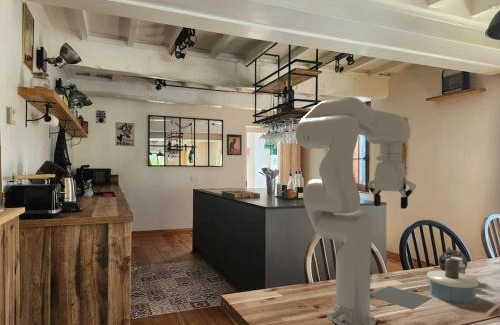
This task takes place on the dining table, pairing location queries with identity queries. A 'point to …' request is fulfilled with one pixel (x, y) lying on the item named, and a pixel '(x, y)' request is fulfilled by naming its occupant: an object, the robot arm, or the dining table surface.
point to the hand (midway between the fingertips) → (390, 207)
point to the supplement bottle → (460, 265)
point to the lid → (452, 276)
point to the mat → (400, 297)
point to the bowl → (453, 293)
